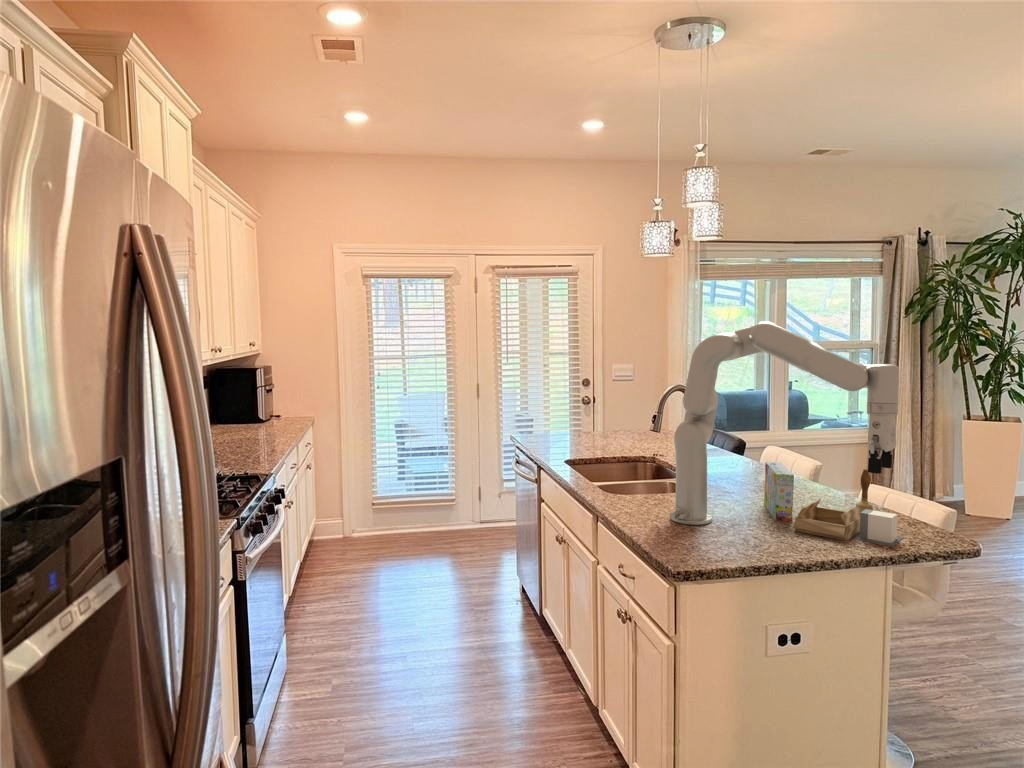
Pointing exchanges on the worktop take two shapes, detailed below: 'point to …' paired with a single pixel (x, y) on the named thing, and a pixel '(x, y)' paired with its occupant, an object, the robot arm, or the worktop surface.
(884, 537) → the white box
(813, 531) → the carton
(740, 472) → the worktop surface
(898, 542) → the slate mat
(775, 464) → the snack box
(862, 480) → the hand bell
